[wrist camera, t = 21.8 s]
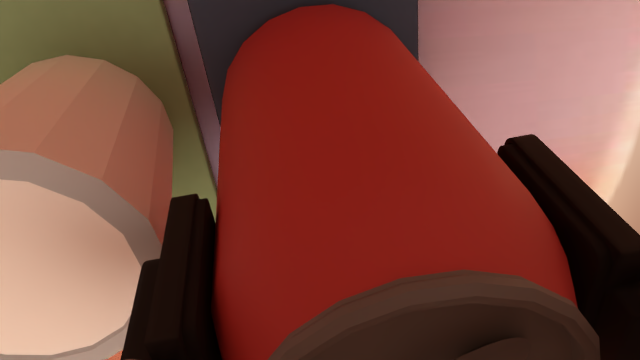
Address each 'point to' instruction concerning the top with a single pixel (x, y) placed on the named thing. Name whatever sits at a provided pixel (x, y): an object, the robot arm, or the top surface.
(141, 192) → the cup
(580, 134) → the top surface
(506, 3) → the top surface
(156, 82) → the sage mat
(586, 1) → the top surface
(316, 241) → the beer can
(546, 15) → the top surface
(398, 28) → the slate mat
